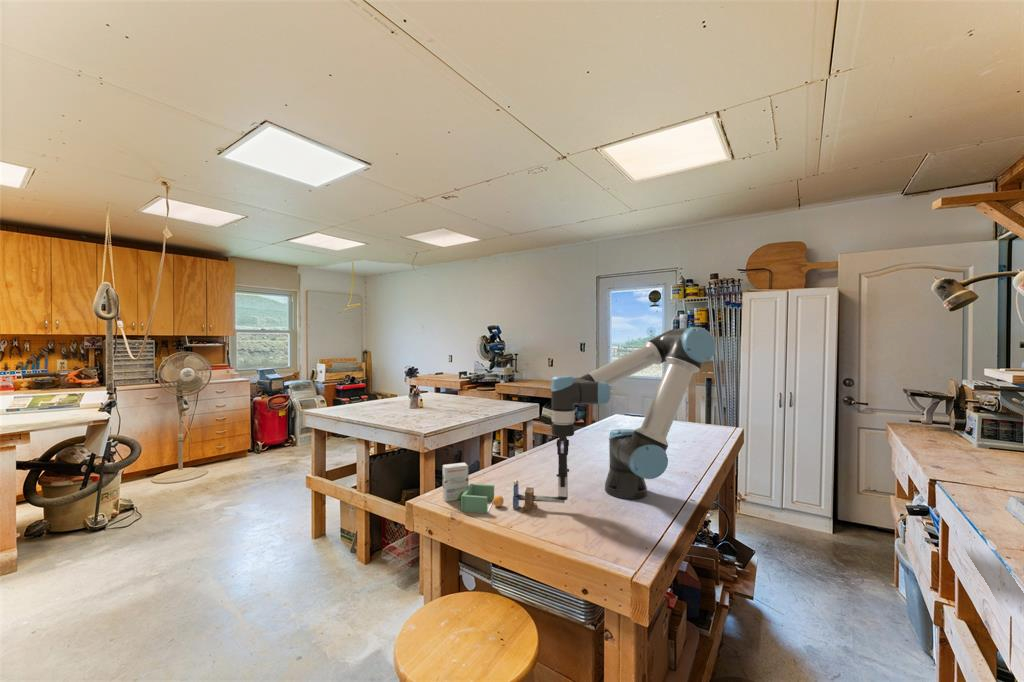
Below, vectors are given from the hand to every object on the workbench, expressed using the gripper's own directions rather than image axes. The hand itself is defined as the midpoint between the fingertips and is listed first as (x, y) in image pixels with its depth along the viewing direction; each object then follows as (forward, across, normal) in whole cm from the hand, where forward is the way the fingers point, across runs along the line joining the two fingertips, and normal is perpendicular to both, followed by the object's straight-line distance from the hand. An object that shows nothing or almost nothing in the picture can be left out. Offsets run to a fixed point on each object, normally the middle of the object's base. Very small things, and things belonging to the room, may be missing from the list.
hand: (563, 493), depth 129 cm
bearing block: (+6, 0, -11) cm, 12 cm away
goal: (+6, 0, -30) cm, 30 cm away
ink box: (+6, -5, -38) cm, 39 cm away
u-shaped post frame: (+6, 0, -8) cm, 9 cm away
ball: (+4, 0, -22) cm, 22 cm away
